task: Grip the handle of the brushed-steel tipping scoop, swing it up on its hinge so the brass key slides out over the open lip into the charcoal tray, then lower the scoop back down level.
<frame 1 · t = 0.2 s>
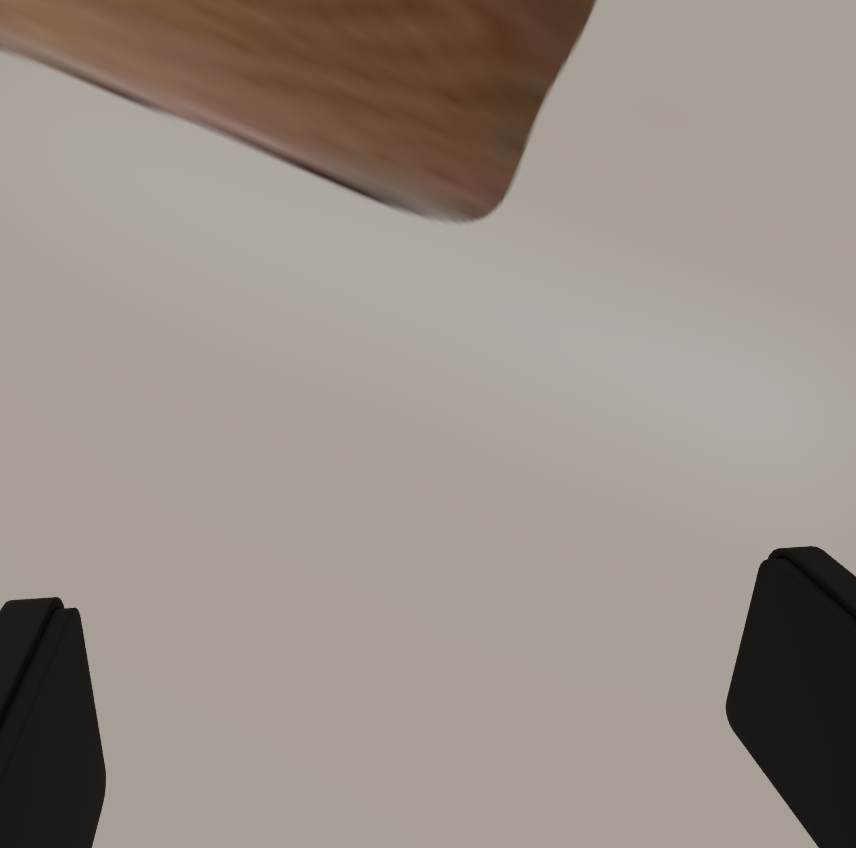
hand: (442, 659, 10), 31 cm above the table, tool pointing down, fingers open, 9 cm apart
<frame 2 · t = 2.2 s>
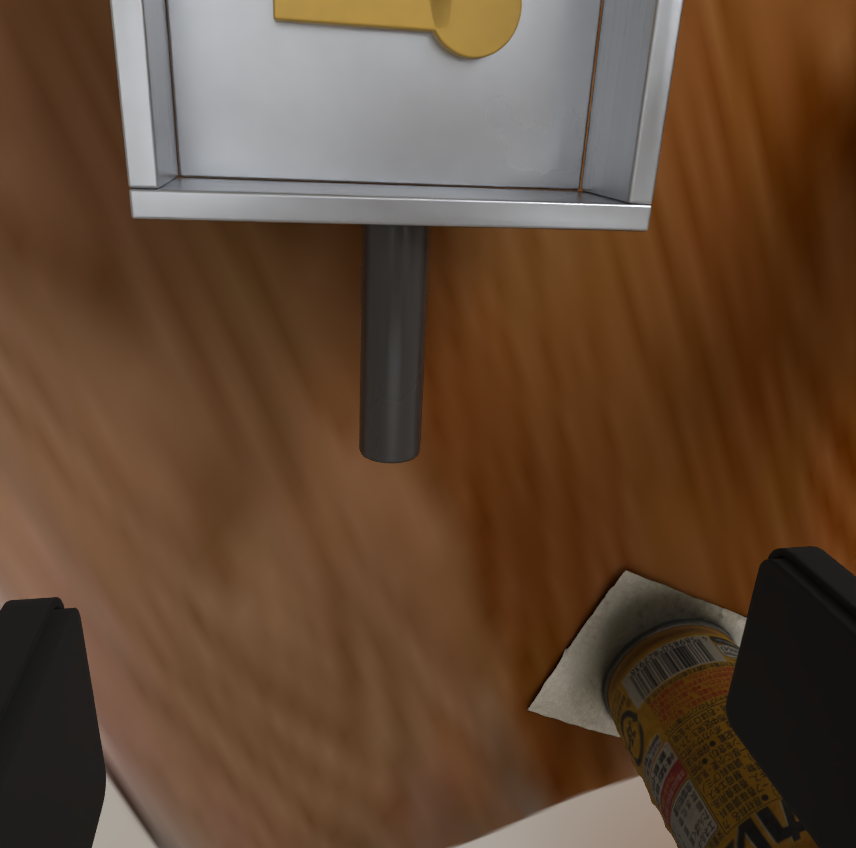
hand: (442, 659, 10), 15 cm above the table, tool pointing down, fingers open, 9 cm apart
condiment: (652, 664, 31), on the table
scoop: (397, 110, 17), point 4 cm above the table, hinge at 0.0°, touching key
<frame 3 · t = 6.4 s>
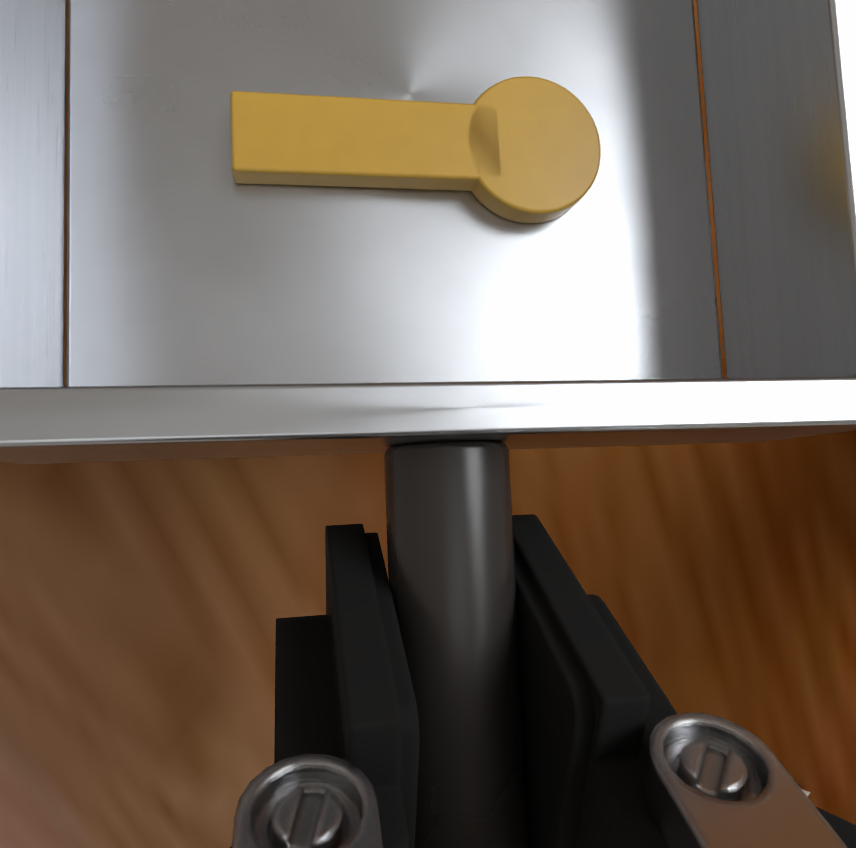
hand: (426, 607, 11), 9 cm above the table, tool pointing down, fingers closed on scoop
key: (367, 151, 11), point 6 cm above the table, tilted 28°, touching scoop
scoop: (434, 277, 10), point 8 cm above the table, hinge at 28.0°, touching gripper, key
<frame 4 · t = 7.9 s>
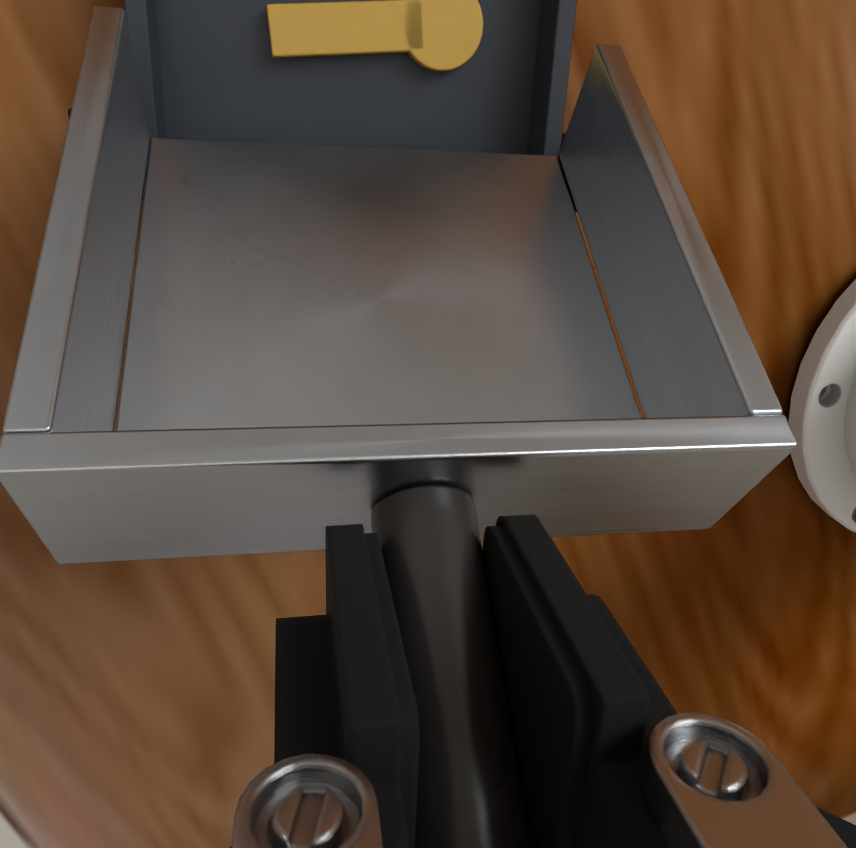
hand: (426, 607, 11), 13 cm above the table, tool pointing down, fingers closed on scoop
key: (347, 28, 19), point 1 cm above the table, tilted 180°, touching tray
scoop: (404, 395, 13), point 11 cm above the table, hinge at 55.0°, touching gripper
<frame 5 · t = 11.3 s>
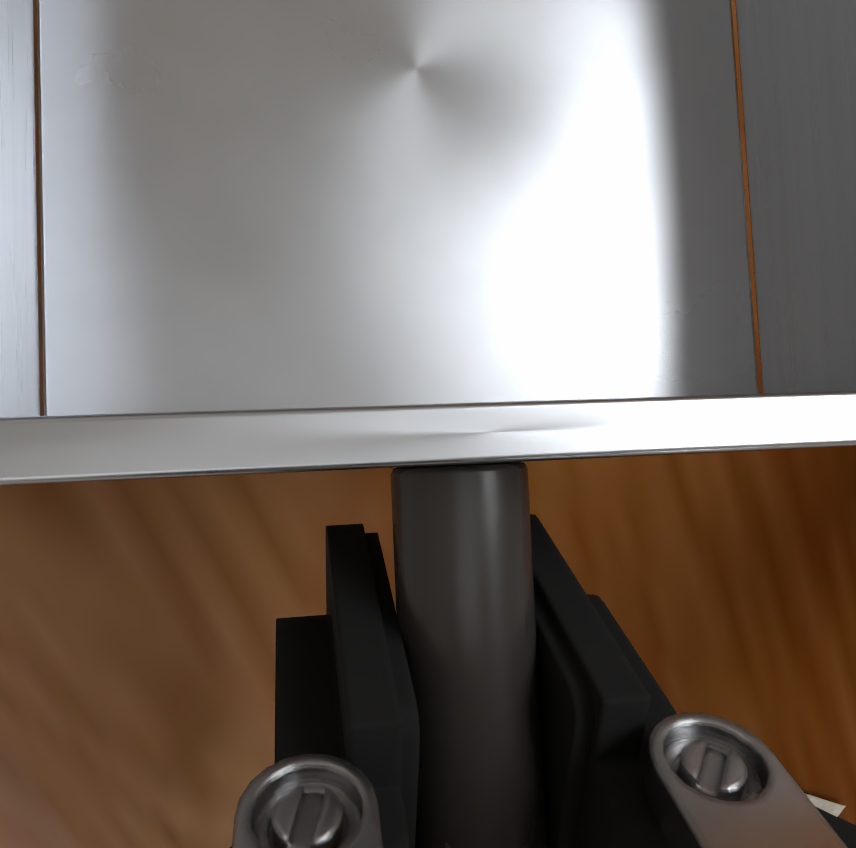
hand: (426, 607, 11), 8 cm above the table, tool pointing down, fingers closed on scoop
condiment: (696, 844, 27), on the table
scoop: (444, 277, 9), point 8 cm above the table, hinge at 25.8°, touching gripper
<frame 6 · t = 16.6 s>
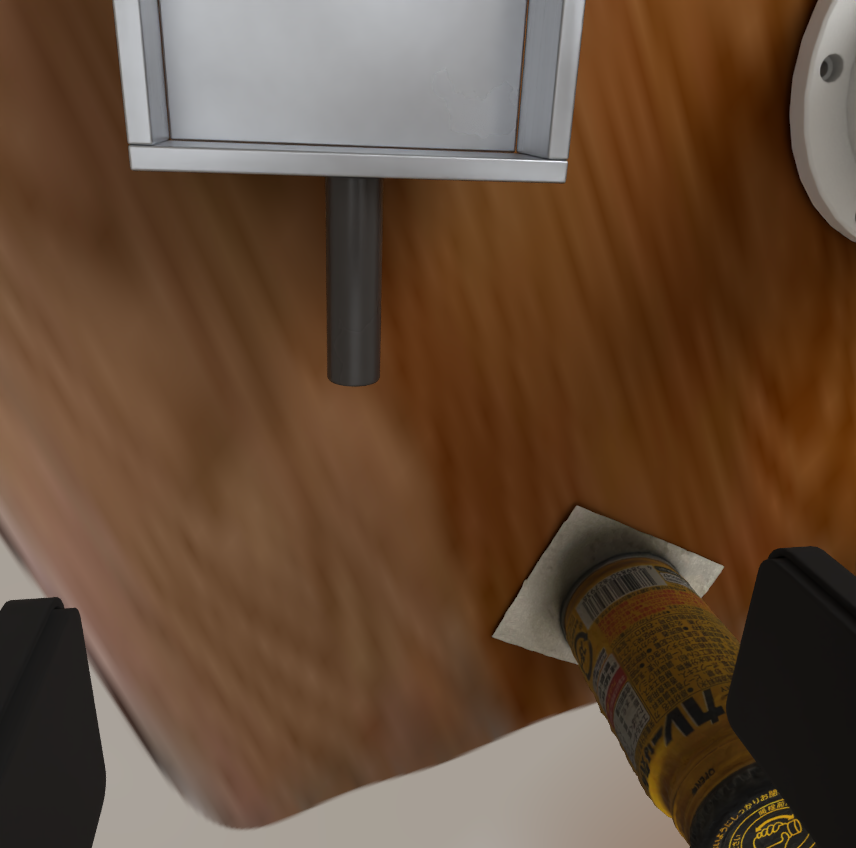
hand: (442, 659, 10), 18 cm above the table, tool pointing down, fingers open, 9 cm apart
condiment: (605, 595, 34), on the table
scoop: (353, 81, 20), point 4 cm above the table, hinge at -0.6°, touching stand
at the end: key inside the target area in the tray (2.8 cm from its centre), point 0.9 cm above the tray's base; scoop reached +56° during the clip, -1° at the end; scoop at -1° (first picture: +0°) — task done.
